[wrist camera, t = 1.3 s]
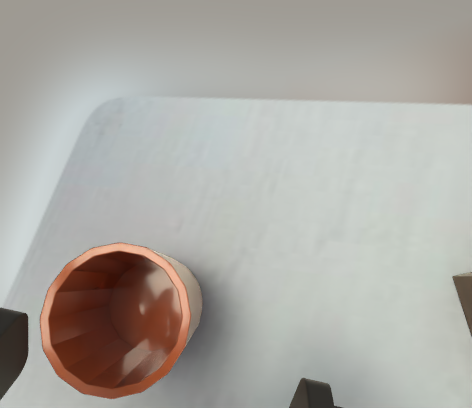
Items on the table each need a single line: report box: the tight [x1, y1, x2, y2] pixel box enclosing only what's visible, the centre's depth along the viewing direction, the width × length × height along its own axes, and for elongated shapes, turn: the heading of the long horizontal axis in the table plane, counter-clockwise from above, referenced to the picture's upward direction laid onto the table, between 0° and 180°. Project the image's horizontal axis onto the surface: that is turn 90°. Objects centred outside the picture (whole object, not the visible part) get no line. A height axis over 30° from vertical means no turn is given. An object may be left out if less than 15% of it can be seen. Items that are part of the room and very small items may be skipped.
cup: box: [40, 243, 203, 399], centre depth 20 cm, size 6×6×9 cm
